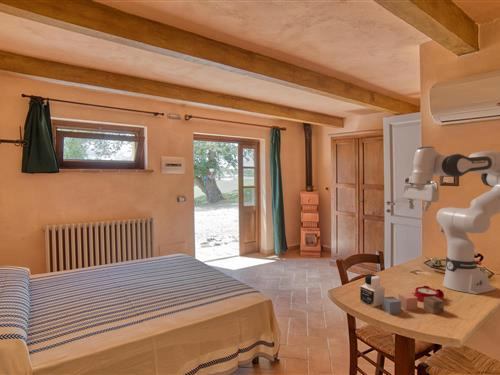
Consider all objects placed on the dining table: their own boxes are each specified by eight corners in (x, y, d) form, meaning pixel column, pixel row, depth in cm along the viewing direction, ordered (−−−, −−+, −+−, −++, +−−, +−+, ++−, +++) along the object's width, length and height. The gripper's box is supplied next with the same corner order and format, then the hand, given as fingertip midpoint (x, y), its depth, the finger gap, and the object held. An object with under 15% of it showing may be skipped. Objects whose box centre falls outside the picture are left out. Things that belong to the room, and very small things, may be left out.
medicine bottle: (359, 301, 139) (360, 274, 138) (371, 298, 142) (371, 272, 142) (373, 307, 133) (373, 279, 132) (384, 304, 136) (385, 276, 136)
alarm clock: (408, 291, 142) (424, 277, 151) (409, 303, 143) (425, 289, 152) (432, 298, 134) (448, 283, 142) (433, 311, 135) (449, 296, 143)
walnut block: (434, 308, 132) (434, 296, 132) (443, 313, 128) (443, 301, 127) (423, 309, 132) (423, 297, 131) (432, 314, 127) (433, 302, 126)
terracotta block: (408, 304, 136) (409, 293, 136) (417, 309, 131) (417, 297, 131) (398, 305, 135) (398, 294, 135) (406, 310, 130) (406, 298, 130)
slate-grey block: (393, 308, 132) (393, 296, 132) (400, 313, 127) (401, 301, 127) (382, 309, 131) (382, 297, 131) (389, 314, 126) (390, 302, 126)
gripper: (444, 182, 139) (440, 213, 140) (412, 180, 159) (409, 208, 160) (432, 180, 138) (428, 212, 139) (401, 179, 158) (398, 206, 159)
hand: (417, 209), depth 149 cm, fingers open, 8 cm apart
